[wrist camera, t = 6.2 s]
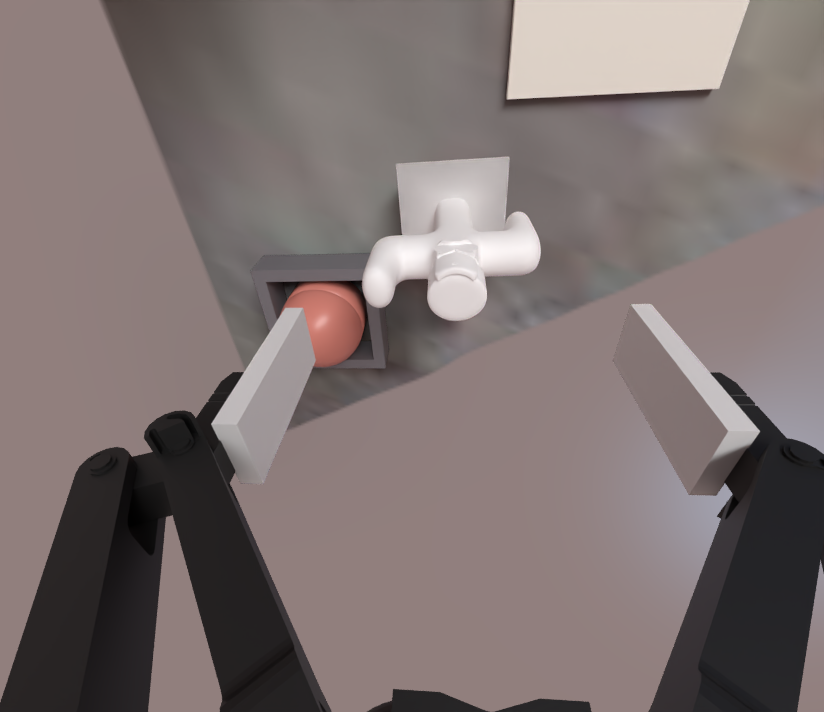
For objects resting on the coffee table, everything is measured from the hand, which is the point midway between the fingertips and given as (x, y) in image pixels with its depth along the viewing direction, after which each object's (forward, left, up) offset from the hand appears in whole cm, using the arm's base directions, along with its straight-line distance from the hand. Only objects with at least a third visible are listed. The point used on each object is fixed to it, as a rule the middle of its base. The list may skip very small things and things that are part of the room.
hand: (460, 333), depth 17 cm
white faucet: (0, 0, -18) cm, 18 cm away
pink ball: (+9, -11, -19) cm, 23 cm away
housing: (+9, -11, -18) cm, 23 cm away
